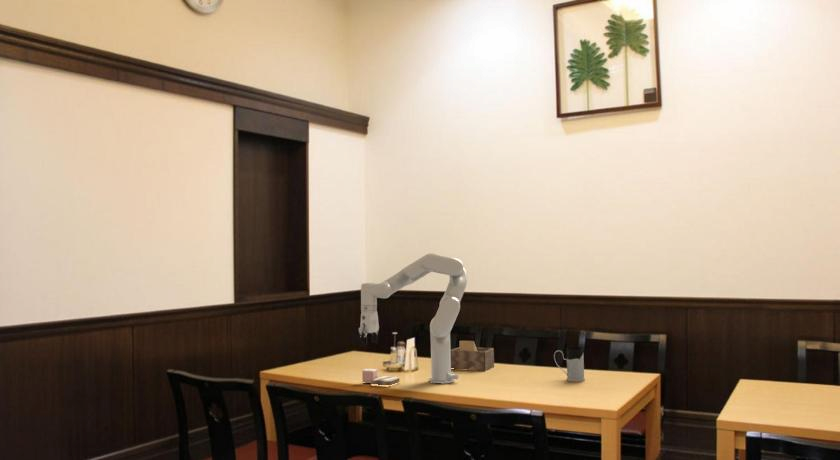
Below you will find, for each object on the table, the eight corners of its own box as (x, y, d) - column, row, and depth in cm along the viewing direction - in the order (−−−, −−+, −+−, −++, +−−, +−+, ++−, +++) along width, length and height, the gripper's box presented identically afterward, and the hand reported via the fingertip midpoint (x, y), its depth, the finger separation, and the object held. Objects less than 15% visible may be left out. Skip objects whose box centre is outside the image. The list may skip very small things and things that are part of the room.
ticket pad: (399, 383, 319) (399, 376, 319) (389, 387, 310) (389, 380, 310) (381, 382, 323) (381, 375, 323) (370, 386, 314) (370, 379, 314)
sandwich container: (485, 367, 362) (485, 339, 364) (474, 370, 349) (474, 341, 350) (471, 366, 366) (470, 338, 368) (459, 369, 353) (459, 340, 354)
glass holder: (585, 381, 313) (584, 349, 313) (554, 381, 316) (553, 349, 316) (584, 378, 321) (583, 346, 322) (554, 377, 324) (553, 346, 325)
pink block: (377, 382, 320) (377, 369, 321) (373, 384, 317) (373, 370, 317) (366, 382, 323) (366, 368, 323) (362, 383, 320) (362, 370, 320)
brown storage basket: (494, 367, 358) (493, 348, 359) (485, 371, 346) (484, 351, 347) (460, 365, 367) (460, 346, 367) (450, 369, 355) (450, 350, 355)
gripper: (366, 310, 312) (366, 347, 311) (384, 307, 328) (384, 342, 327) (352, 309, 315) (352, 346, 315) (371, 307, 331) (371, 341, 330)
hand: (369, 344), depth 321 cm, fingers open, 9 cm apart
